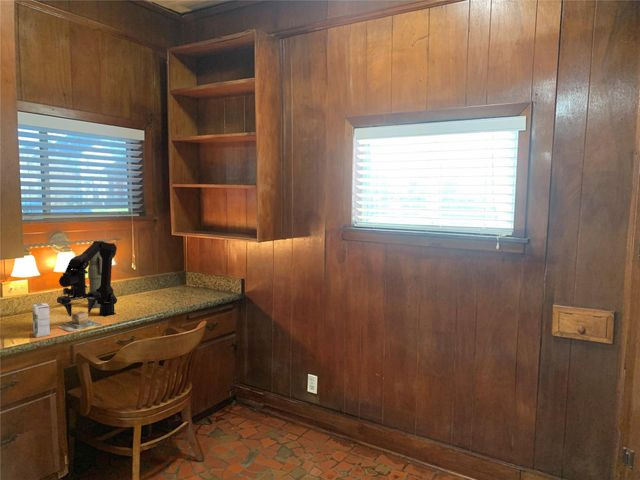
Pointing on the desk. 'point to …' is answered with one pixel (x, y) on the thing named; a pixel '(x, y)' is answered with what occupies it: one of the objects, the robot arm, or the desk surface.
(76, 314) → the plug block
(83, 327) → the socket plate
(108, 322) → the desk surface
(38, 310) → the syrup box
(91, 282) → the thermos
